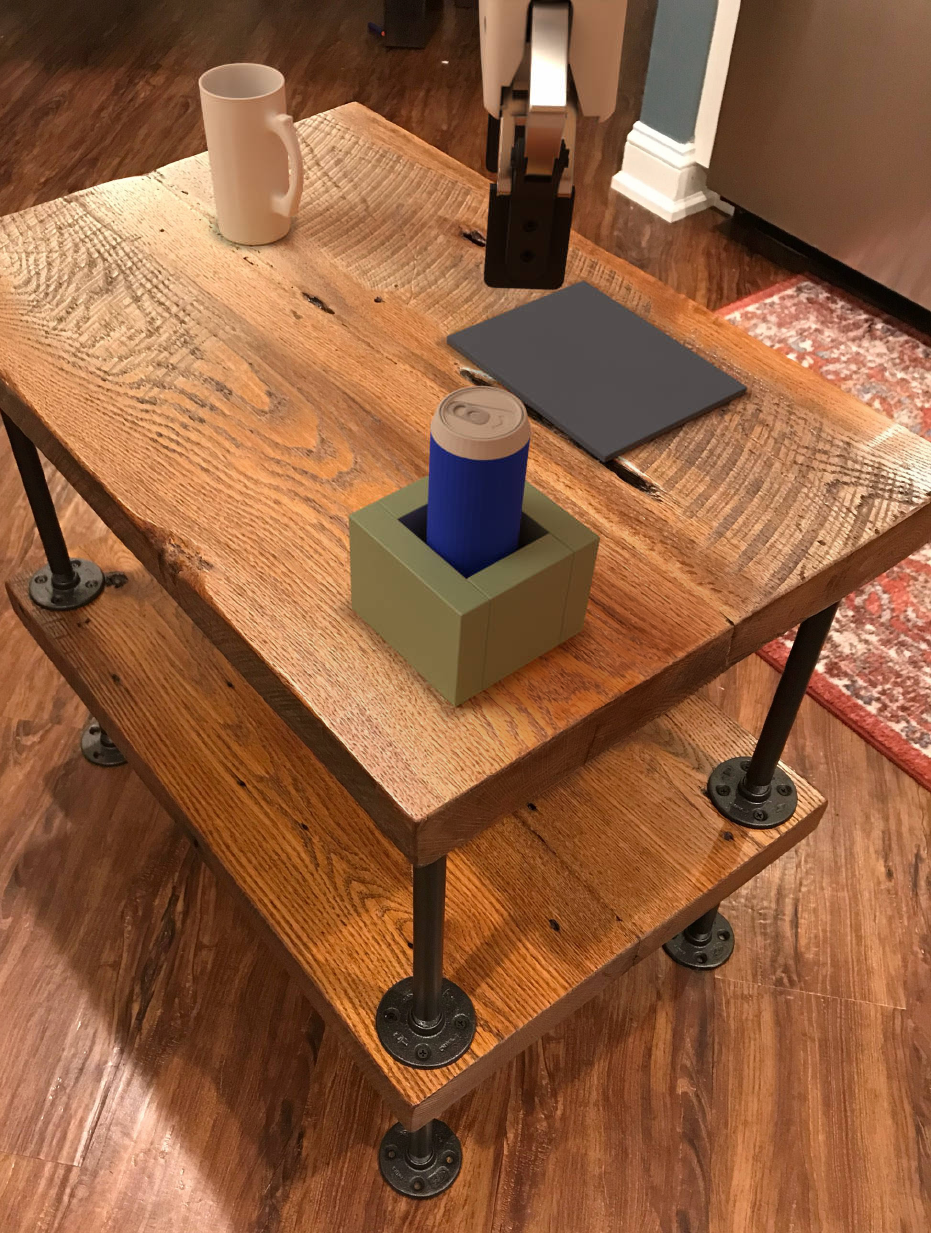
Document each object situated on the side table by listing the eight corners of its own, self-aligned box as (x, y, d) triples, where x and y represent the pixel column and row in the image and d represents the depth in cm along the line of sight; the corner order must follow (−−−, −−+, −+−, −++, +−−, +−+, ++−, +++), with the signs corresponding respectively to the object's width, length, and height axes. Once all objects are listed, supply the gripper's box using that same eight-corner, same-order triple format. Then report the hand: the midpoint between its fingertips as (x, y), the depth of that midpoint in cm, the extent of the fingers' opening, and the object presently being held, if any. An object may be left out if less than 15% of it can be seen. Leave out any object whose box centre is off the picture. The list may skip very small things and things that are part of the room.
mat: (745, 393, 84) (747, 386, 84) (604, 463, 79) (605, 456, 79) (582, 286, 94) (583, 279, 93) (446, 342, 88) (446, 335, 88)
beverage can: (521, 605, 70) (547, 397, 59) (489, 661, 67) (511, 454, 56) (443, 580, 72) (454, 372, 60) (409, 634, 69) (414, 427, 57)
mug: (199, 226, 100) (180, 79, 90) (259, 200, 102) (246, 55, 93) (275, 270, 95) (263, 120, 86) (335, 242, 98) (330, 94, 89)
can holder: (475, 541, 74) (483, 447, 68) (582, 630, 69) (600, 537, 63) (351, 608, 70) (347, 514, 64) (454, 708, 65) (461, 615, 59)
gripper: (724, -229, 31) (622, 341, 44) (664, -349, 41) (597, 136, 55) (443, -234, 31) (426, 334, 44) (457, -352, 42) (440, 131, 55)
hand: (521, 224), depth 49 cm, fingers open, 9 cm apart
